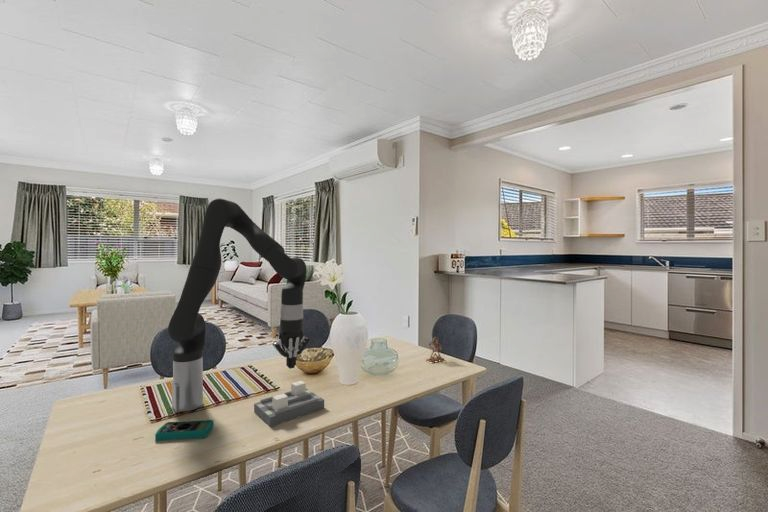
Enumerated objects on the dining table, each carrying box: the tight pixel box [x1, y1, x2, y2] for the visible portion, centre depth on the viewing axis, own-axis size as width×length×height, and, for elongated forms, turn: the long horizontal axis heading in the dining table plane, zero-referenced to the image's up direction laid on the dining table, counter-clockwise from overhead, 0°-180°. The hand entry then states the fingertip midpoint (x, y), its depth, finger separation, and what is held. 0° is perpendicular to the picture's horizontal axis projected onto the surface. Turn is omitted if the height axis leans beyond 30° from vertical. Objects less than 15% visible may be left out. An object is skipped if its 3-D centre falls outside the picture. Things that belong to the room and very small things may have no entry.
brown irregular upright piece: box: [425, 336, 445, 363], centre depth 179 cm, size 9×4×12 cm, turn 122°
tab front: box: [272, 392, 288, 411], centre depth 119 cm, size 4×3×4 cm
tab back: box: [290, 380, 307, 396], centre depth 130 cm, size 4×3×4 cm
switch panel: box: [253, 388, 325, 427], centre depth 125 cm, size 20×13×4 cm, turn 131°
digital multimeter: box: [154, 419, 215, 442], centre depth 109 cm, size 7×15×3 cm, turn 97°
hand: (291, 367), depth 121 cm, fingers closed
